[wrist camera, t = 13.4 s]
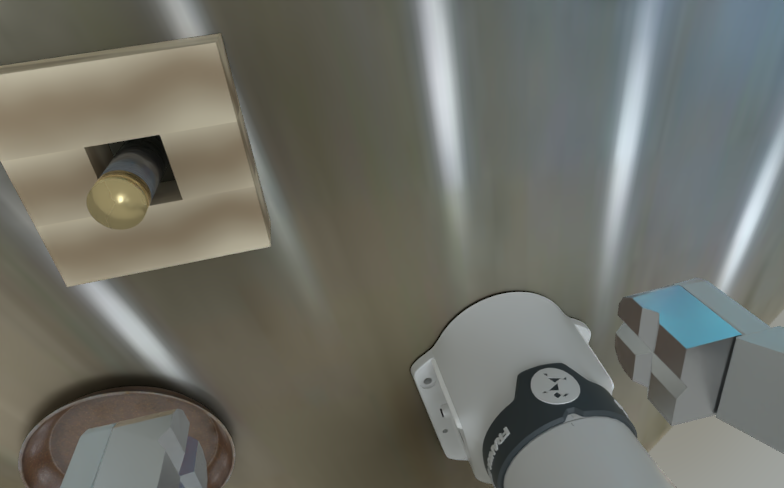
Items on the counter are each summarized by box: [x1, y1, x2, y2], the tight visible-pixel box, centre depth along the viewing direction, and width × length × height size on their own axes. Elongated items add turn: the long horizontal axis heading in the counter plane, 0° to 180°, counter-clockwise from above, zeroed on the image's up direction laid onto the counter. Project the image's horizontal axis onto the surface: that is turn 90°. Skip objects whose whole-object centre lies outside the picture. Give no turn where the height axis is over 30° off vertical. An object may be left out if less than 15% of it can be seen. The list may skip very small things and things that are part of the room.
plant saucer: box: [18, 386, 235, 488], centre depth 48 cm, size 18×18×3 cm
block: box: [0, 33, 271, 287], centre depth 35 cm, size 14×14×4 cm
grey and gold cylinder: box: [86, 135, 169, 230], centre depth 33 cm, size 3×3×9 cm
